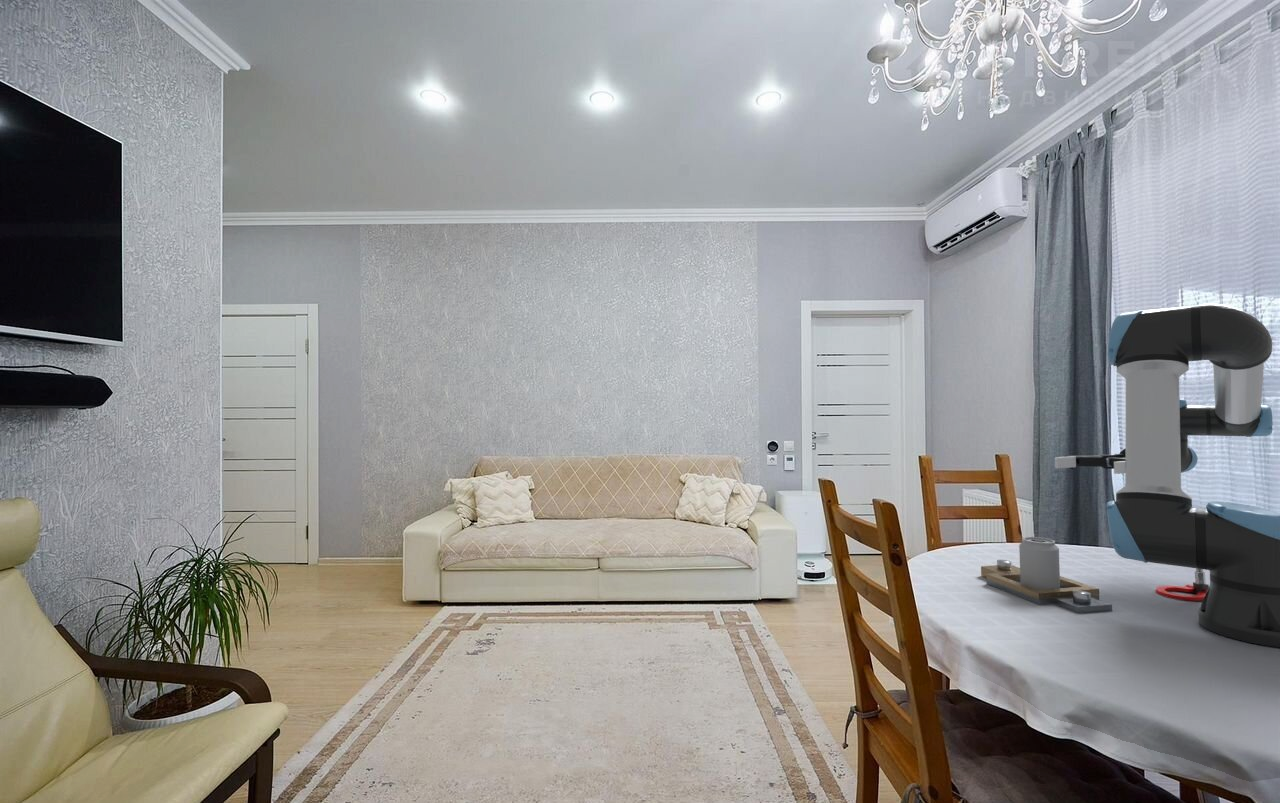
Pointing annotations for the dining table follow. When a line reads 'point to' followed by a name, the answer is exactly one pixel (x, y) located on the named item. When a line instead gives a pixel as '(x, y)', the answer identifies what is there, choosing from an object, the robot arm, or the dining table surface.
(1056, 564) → the can
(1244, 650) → the dining table surface
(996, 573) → the chain end upper
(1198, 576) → the tow hook
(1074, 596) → the chain end lower
